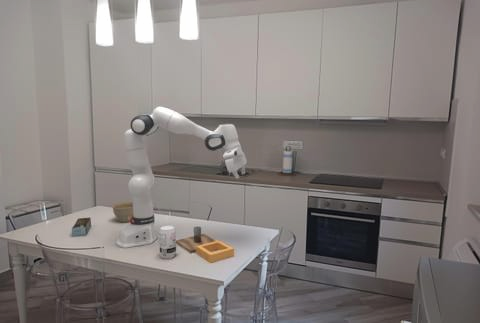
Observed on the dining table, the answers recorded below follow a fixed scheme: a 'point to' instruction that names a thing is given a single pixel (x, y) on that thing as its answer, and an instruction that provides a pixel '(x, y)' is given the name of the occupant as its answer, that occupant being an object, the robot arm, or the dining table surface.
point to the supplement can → (167, 242)
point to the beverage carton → (81, 227)
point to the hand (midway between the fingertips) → (240, 176)
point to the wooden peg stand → (194, 240)
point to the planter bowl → (123, 211)
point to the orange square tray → (215, 256)
